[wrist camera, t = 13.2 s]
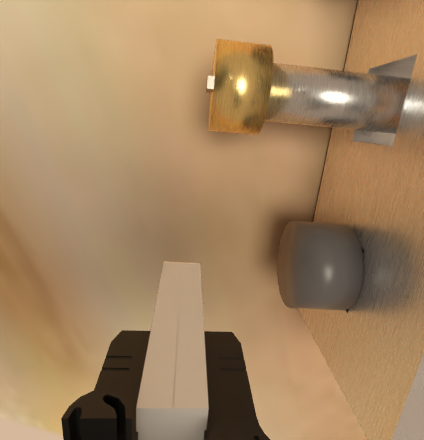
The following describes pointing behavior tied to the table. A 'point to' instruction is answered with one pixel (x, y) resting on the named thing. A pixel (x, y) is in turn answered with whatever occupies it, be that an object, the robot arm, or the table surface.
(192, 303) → the robot arm
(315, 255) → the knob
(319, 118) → the silver and brass cylinder
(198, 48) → the table surface
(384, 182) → the panel
